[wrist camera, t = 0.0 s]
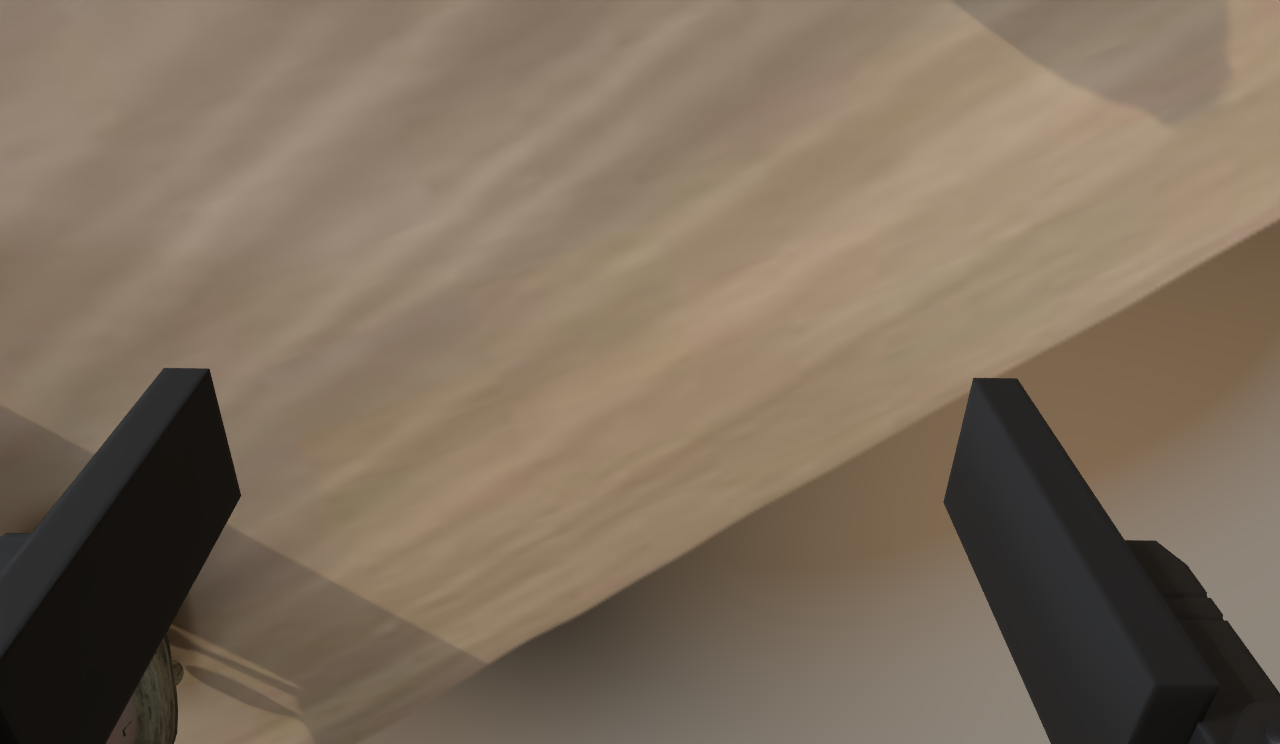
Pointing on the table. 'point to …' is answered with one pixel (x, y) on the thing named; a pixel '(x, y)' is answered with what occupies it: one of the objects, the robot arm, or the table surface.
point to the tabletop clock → (152, 704)
